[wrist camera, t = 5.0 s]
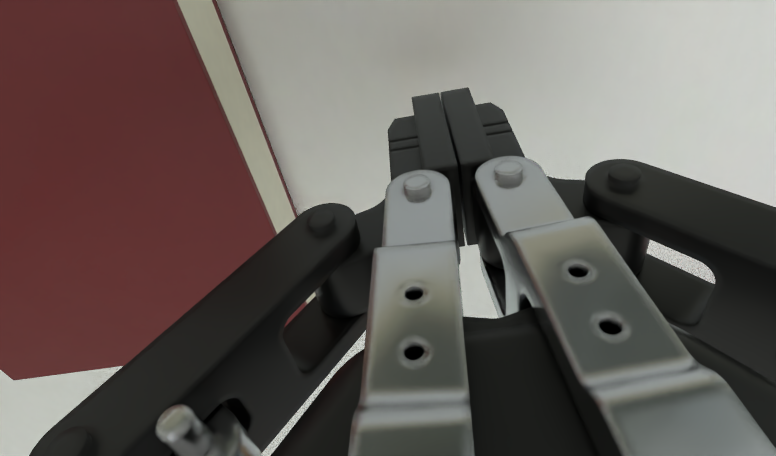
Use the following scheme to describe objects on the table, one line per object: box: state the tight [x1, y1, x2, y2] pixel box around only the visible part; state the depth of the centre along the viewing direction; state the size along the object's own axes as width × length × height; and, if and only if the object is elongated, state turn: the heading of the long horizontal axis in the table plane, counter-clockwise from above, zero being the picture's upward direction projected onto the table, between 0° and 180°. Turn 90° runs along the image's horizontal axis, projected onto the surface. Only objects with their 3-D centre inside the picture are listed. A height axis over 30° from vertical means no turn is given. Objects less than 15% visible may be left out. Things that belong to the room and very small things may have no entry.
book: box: [0, 0, 316, 380], centre depth 16 cm, size 14×19×3 cm
